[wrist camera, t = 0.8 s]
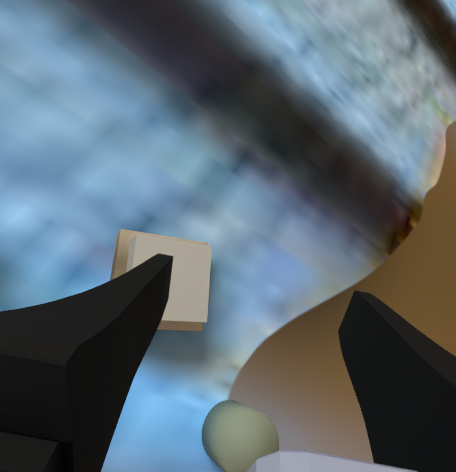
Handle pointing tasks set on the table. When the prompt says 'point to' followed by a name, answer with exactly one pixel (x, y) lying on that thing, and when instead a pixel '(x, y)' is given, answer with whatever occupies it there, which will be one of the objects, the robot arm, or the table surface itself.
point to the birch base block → (120, 268)
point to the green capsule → (238, 436)
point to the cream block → (178, 274)
